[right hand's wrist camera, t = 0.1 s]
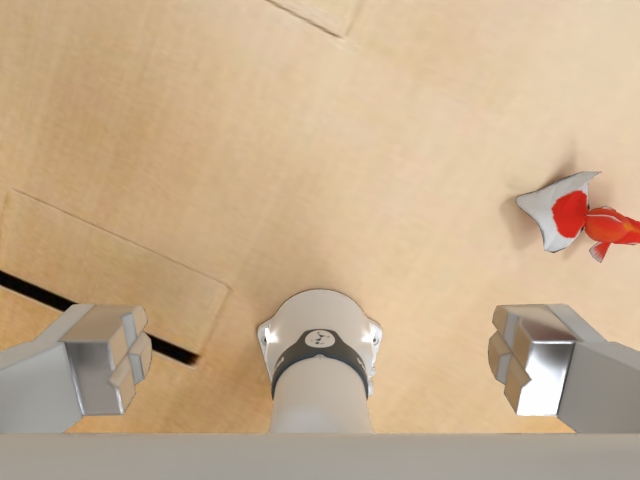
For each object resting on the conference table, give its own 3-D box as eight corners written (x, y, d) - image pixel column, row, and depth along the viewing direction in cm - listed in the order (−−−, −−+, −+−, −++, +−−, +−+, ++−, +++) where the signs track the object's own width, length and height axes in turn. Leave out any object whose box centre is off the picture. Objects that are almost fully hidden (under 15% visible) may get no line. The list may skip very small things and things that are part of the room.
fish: (594, 293, 58) (633, 289, 49) (491, 228, 62) (507, 213, 52) (639, 228, 59) (686, 211, 49) (533, 168, 62) (558, 141, 53)
